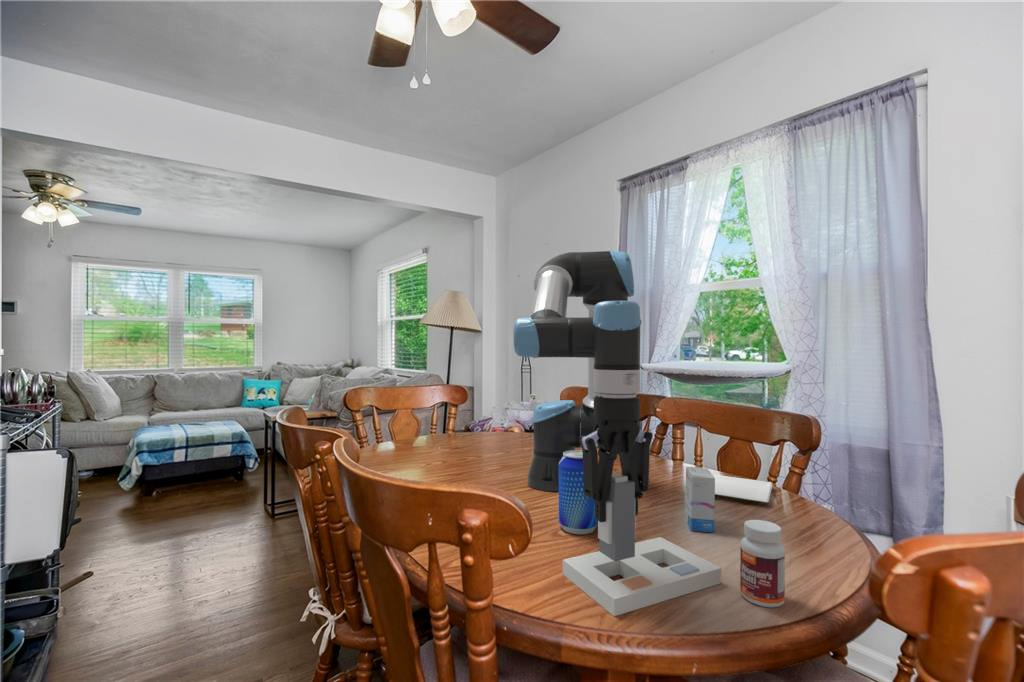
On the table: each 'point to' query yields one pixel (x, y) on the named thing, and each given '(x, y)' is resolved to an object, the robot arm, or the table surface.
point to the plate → (742, 489)
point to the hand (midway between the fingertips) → (616, 537)
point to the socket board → (641, 575)
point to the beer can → (574, 496)
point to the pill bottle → (762, 564)
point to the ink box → (699, 499)
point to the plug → (621, 519)
